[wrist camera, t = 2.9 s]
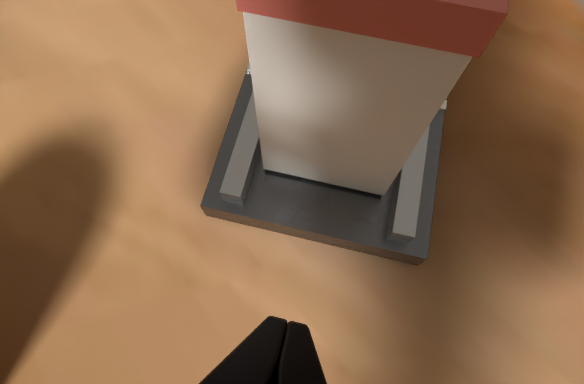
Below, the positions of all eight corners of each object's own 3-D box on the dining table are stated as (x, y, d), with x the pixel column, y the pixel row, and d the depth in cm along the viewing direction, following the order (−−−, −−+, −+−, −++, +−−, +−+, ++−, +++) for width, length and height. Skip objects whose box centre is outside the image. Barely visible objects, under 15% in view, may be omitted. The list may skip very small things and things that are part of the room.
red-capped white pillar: (385, 198, 19) (507, 13, 9) (260, 170, 20) (230, -39, 9) (400, 108, 21) (516, -136, 10) (286, 84, 21) (285, -172, 11)
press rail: (417, 265, 20) (452, 243, 16) (206, 215, 21) (185, 182, 16) (450, -1, 26) (481, -67, 22) (288, -31, 27) (288, -100, 23)
